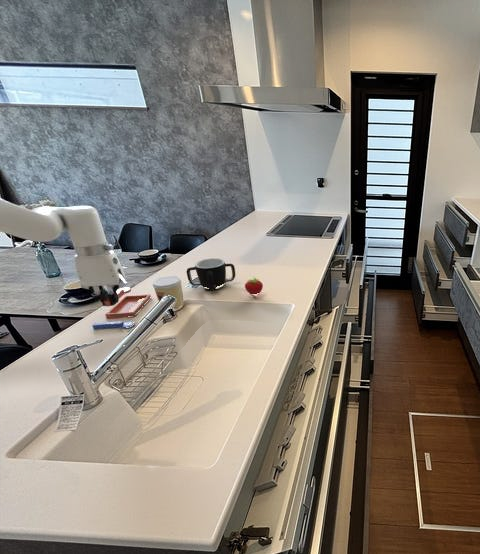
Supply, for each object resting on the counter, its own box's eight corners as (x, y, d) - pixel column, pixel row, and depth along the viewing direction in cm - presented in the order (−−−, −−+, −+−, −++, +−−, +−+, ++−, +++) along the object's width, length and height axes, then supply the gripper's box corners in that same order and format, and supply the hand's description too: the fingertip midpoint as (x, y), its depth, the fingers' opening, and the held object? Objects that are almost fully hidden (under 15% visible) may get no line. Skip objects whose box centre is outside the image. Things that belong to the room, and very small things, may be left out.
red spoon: (115, 305, 96) (113, 300, 95) (101, 306, 95) (99, 301, 94) (133, 289, 107) (131, 284, 106) (121, 289, 106) (119, 285, 105)
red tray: (106, 319, 113) (105, 314, 113) (126, 300, 127) (125, 295, 126) (134, 317, 116) (133, 312, 115) (151, 298, 129) (150, 294, 128)
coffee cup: (157, 306, 123) (150, 279, 118) (183, 300, 129) (177, 274, 124) (162, 316, 117) (154, 288, 112) (189, 308, 123) (183, 282, 118)
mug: (218, 276, 152) (214, 254, 147) (240, 284, 145) (237, 261, 140) (186, 288, 139) (181, 264, 134) (209, 297, 132) (204, 272, 127)
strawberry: (247, 294, 137) (244, 273, 133) (265, 293, 138) (262, 273, 134) (244, 300, 131) (242, 279, 127) (263, 299, 133) (260, 278, 129)
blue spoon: (91, 331, 106) (90, 327, 105) (97, 325, 109) (96, 321, 108) (131, 328, 109) (130, 324, 108) (136, 323, 112) (135, 318, 111)
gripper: (129, 244, 95) (144, 296, 102) (69, 245, 91) (89, 300, 98) (116, 252, 88) (133, 307, 95) (51, 254, 84) (74, 311, 92)
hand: (110, 303), depth 97 cm, fingers closed on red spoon, 1 cm apart
